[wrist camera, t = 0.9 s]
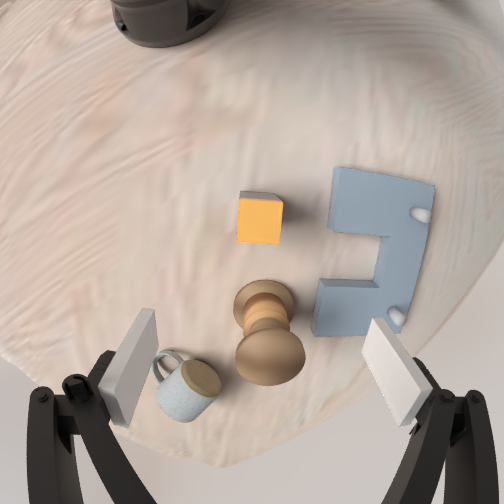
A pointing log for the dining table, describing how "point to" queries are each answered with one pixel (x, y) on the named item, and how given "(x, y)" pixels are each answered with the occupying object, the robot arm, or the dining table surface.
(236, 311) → the bobbin
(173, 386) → the ceramic mug
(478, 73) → the dining table surface
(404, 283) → the board
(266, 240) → the orange and grey block
